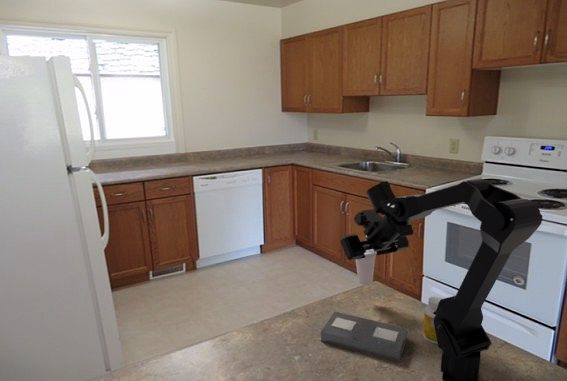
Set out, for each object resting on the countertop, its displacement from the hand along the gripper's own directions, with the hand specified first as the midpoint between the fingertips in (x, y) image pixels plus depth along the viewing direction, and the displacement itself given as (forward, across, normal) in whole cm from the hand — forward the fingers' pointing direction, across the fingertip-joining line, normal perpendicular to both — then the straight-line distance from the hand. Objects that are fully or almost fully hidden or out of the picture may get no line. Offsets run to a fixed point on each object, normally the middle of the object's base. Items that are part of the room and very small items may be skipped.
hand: (362, 256), depth 106 cm
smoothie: (+4, 0, +6) cm, 8 cm away
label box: (-2, +10, +21) cm, 24 cm away
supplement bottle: (-6, -5, +26) cm, 27 cm away
